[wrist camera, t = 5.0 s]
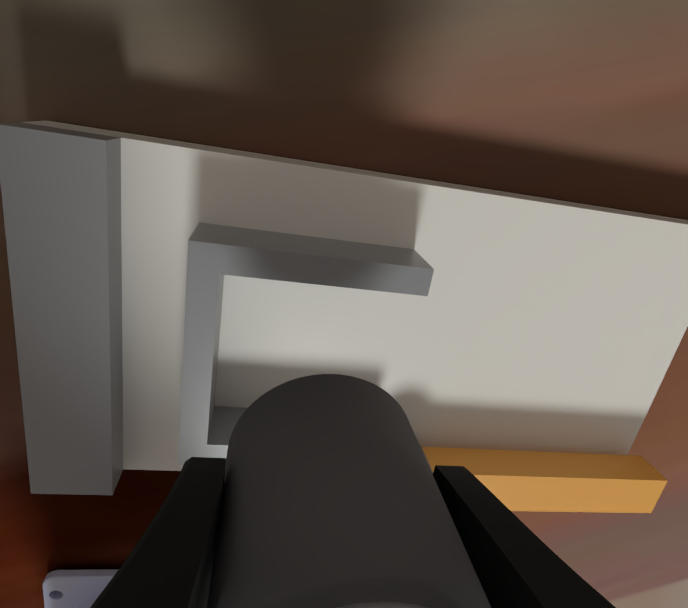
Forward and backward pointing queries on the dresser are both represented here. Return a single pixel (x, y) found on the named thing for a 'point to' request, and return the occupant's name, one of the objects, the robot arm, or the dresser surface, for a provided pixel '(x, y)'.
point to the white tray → (315, 302)
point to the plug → (334, 507)
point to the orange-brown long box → (559, 479)
